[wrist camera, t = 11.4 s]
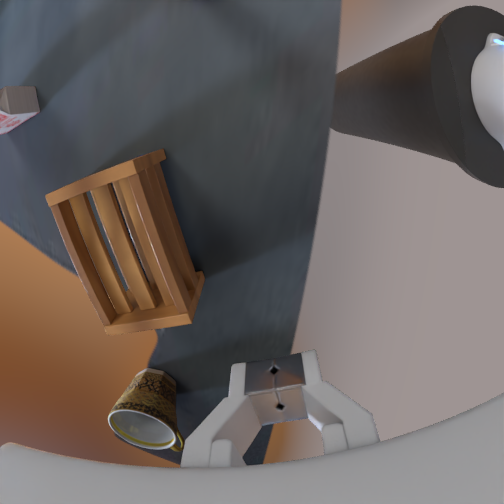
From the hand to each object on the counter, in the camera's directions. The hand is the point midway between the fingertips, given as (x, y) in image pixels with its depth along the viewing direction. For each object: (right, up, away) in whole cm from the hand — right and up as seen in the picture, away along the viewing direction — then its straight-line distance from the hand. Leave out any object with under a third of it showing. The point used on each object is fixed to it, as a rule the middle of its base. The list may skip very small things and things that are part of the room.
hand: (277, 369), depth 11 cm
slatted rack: (-13, +7, +25) cm, 29 cm away
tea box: (-31, +22, +18) cm, 42 cm away
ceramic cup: (-15, -17, +36) cm, 42 cm away
